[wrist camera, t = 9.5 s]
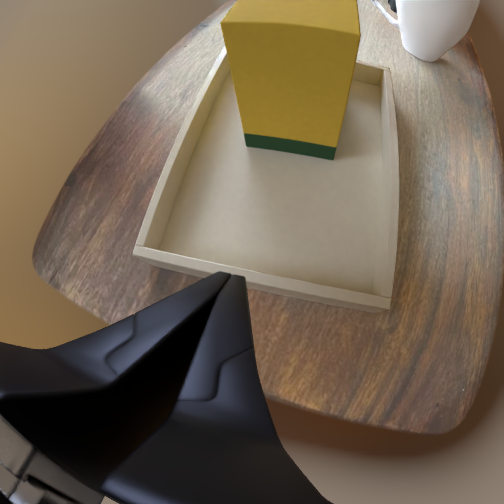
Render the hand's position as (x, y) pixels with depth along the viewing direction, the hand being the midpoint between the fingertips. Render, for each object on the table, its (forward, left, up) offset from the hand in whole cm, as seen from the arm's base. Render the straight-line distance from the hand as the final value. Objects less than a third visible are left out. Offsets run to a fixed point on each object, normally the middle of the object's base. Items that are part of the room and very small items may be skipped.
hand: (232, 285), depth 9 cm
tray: (+9, +6, -8) cm, 13 cm away
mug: (+31, +9, -8) cm, 33 cm away
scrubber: (+11, +8, -7) cm, 16 cm away
